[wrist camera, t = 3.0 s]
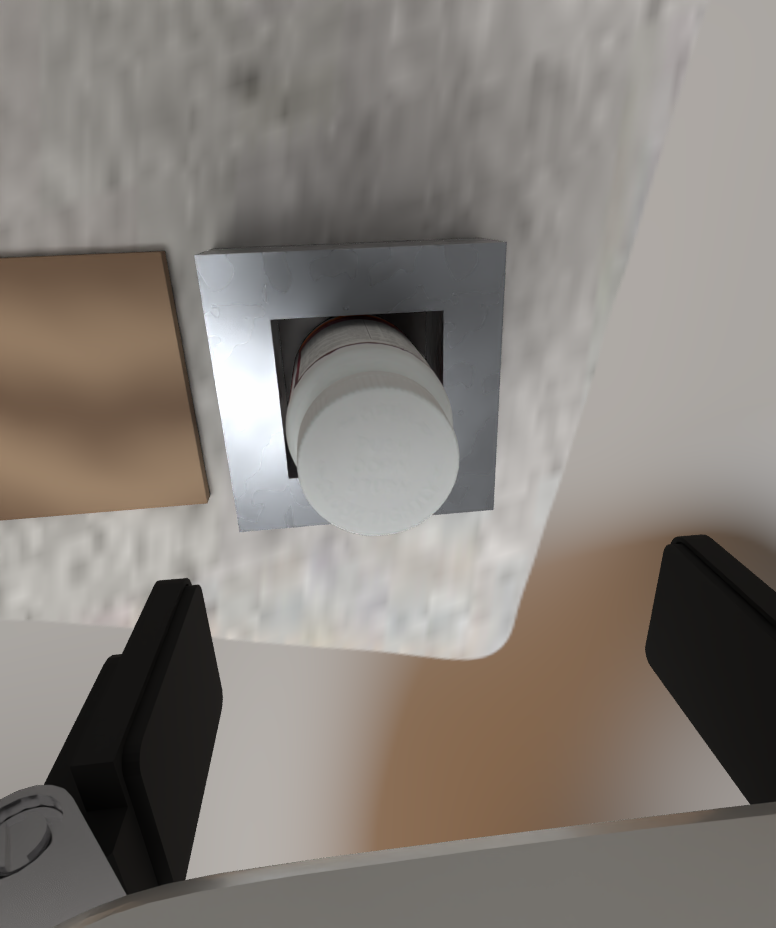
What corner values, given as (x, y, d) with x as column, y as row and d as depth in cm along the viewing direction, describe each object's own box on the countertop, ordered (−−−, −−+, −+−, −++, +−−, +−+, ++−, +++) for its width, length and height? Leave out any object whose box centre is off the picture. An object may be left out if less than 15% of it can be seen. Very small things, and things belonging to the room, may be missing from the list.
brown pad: (-133, 263, 23) (-148, 264, 23) (164, 251, 25) (160, 252, 24) (-35, 516, 28) (-44, 524, 28) (209, 496, 29) (207, 503, 29)
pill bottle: (383, 450, 30) (419, 576, 19) (272, 403, 28) (248, 514, 18) (440, 344, 28) (514, 422, 17) (325, 286, 26) (332, 334, 16)
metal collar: (211, 249, 25) (194, 255, 21) (479, 238, 26) (506, 241, 22) (248, 492, 30) (239, 532, 26) (472, 474, 31) (493, 509, 27)
